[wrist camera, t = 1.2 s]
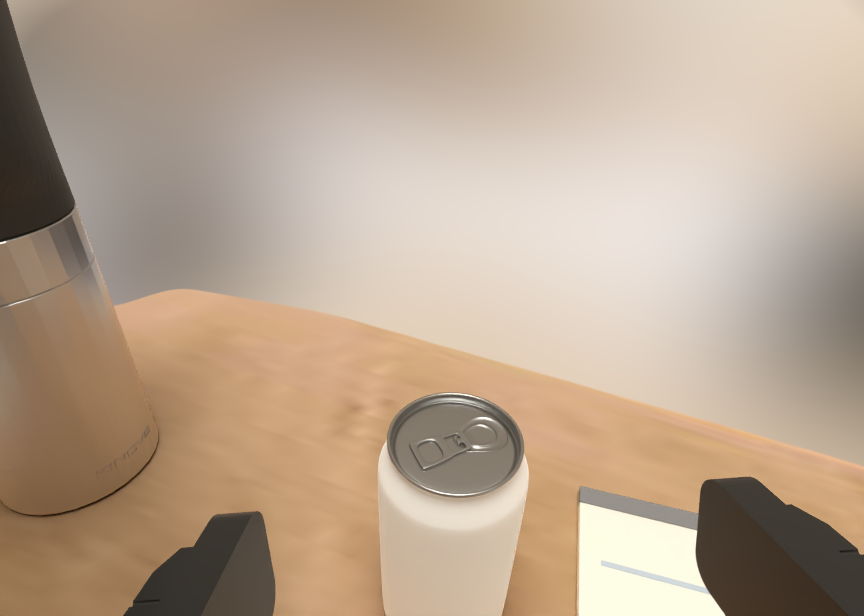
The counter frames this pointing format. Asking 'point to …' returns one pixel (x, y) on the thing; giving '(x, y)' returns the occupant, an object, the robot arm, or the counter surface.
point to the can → (450, 506)
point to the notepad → (637, 559)
